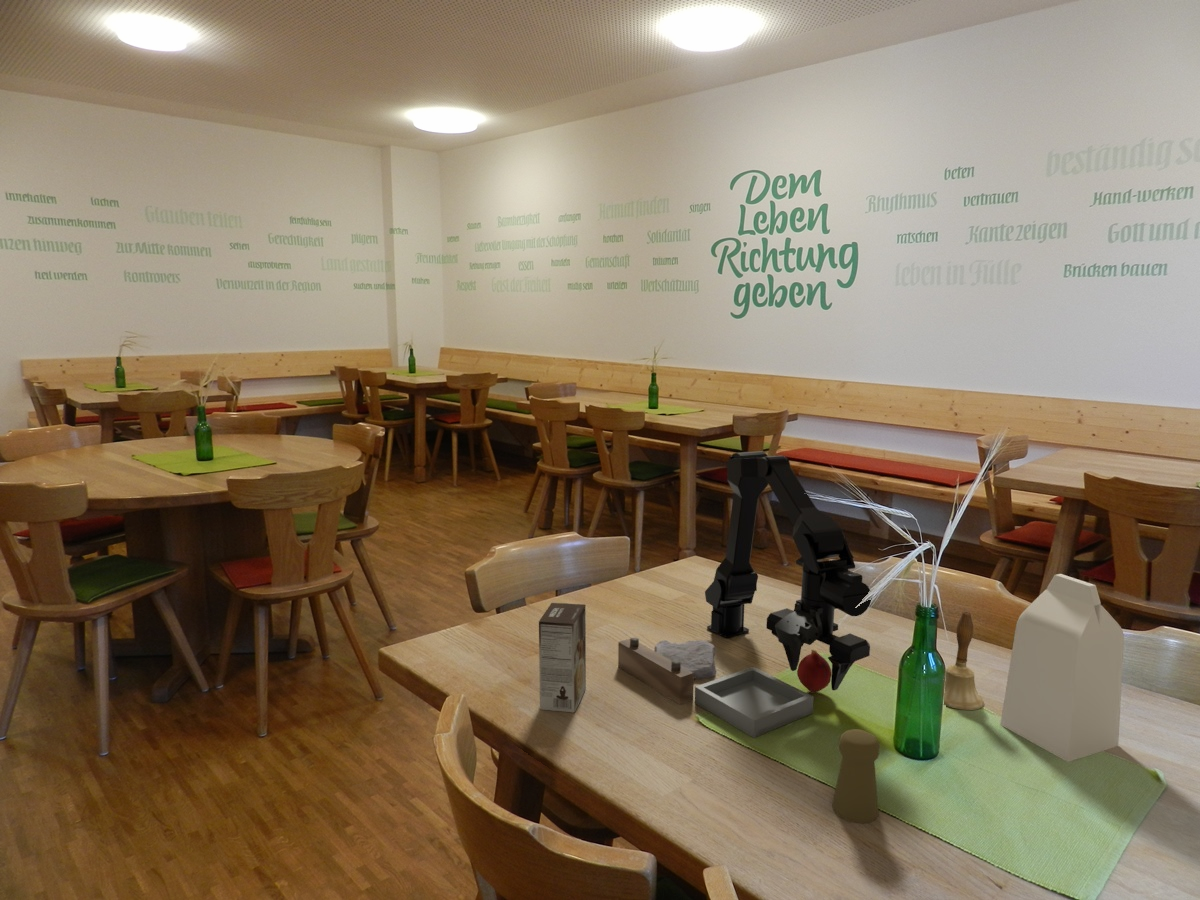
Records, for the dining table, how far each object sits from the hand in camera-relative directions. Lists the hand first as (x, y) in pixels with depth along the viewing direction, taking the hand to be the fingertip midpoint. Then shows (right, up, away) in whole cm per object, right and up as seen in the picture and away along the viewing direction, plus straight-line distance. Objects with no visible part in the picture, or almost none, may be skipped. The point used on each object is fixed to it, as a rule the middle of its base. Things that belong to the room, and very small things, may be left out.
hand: (813, 679), depth 142 cm
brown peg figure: (-3, -8, -33) cm, 34 cm away
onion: (0, -3, 0) cm, 3 cm away
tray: (-12, -3, -5) cm, 13 cm away
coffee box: (-44, -3, -2) cm, 44 cm away
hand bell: (+25, -3, -2) cm, 25 cm away
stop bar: (-28, -2, +4) cm, 28 cm away
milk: (+36, -5, -14) cm, 38 cm away
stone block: (-22, -1, +10) cm, 24 cm away
